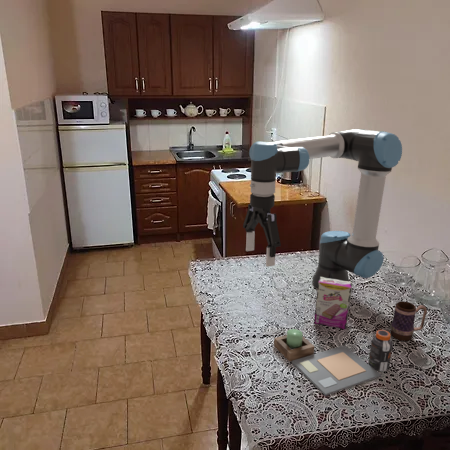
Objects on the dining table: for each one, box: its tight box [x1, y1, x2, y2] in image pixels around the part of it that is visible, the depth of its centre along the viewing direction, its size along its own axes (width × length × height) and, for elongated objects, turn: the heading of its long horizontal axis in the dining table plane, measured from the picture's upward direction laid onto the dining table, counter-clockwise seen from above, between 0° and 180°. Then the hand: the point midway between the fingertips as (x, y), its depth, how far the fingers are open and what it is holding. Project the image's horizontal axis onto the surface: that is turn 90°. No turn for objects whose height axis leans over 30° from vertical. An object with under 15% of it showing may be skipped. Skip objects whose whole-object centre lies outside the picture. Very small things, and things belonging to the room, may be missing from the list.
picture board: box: [291, 344, 382, 397], centre depth 127 cm, size 20×16×1 cm
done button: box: [286, 328, 304, 350], centre depth 134 cm, size 5×5×4 cm
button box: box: [273, 334, 316, 363], centre depth 135 cm, size 9×9×3 cm
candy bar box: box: [313, 277, 353, 330], centre depth 148 cm, size 11×5×16 cm, turn 71°
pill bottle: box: [367, 329, 394, 372], centre depth 127 cm, size 6×6×11 cm
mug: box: [389, 300, 428, 342], centre depth 142 cm, size 10×7×12 cm
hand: (259, 257), depth 138 cm, fingers open, 13 cm apart
